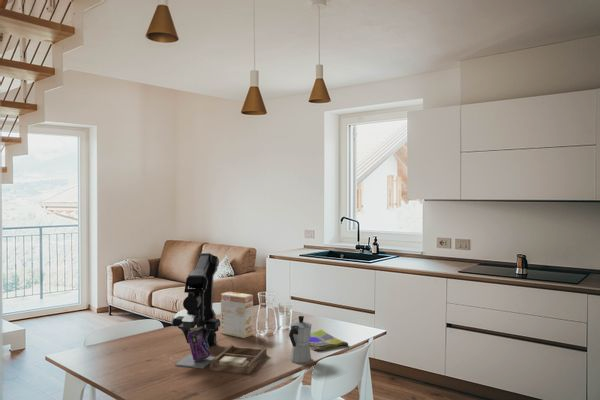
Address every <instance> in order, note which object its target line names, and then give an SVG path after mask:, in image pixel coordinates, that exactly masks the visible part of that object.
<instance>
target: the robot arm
mask: <svg viewBox="0 0 600 400" xmlns="http://www.w3.org/2000/svg"><path fill="white" fill-rule="evenodd" d="M219 266H220V260H219V257H218V256H216V255H213V254H212V253H209V252H201V253H199V256H198V261H197V263H196V266H195V269H194V270H192V271H190V272H189V274H188V275H187V277H186V281H185V286H184V291H183V292H184V294H186V293H187V297H185V298H184V300H183V302H182V306H183V308H184V310H186V314H185V315H184V316H182V315H179V316H176V317H174V318H173V319H172V321H171V325H172V327H177V328H178V329H180V330H181V331H182V333H183V335H184V338H185V340H186V343H187V344H189V341H188V331H189V330H191V329H194V328H197V327H203V329H202V331H203V337H204V340H206V339H207V341H208V345H209V348H211V347H213V346H214V345H215V344H217V343H218V341H217V332H218V331H219V327H221V319H220V318H217V317H216V315H217V314H216V312H215V311H214V309H213V299H214V295H213V294H214V277H215V274H216V273H217V272H218V267H219Z"/></svg>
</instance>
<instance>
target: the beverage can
mask: <svg viewBox="0 0 600 400" xmlns="http://www.w3.org/2000/svg"><path fill="white" fill-rule="evenodd" d="M202 329H203V327H197V326H196V327H194V328H192V329H191V330H189V331H188V341H189V343H188V344H189V345H188V346H189V348H190V351H191V354H192V356H193V360H196V361H201V360H204V359H206V358H208V357H209V356H211V354H212V353H211V350H210V346H209V345H208V341H207V339H206V340H204V337H203V331H202Z"/></svg>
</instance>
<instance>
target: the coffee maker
mask: <svg viewBox="0 0 600 400" xmlns="http://www.w3.org/2000/svg"><path fill="white" fill-rule="evenodd" d="M304 318H305V317H304V315H299V316H298V322H293V323H291V325H290V330H289V334H288V337H289V340H290V342H291V344H292V346H291V347H292V348H291V354H290V361H291V363H293V364H294V363H295V364H308V363H310V362H312V356H311V349H310V347H309V343H308V342H309V340H310V333H312V332H311V331H312V330H311V329H312V324H311V323H309V322H307V321H306V322H305V321H304Z"/></svg>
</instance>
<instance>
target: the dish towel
mask: <svg viewBox="0 0 600 400" xmlns="http://www.w3.org/2000/svg"><path fill="white" fill-rule="evenodd" d="M308 343H309V347H310V350H312V351H317V352H318V351H324V350H332V349H340V348H346V347H349V343H348V342H347V341H344V340H341V339H338V338H337V337H334V336H333V335H331V334H329V333H328V332H326V331H325V330H323V329H318V330H316V331H314V332H313V331H312V332H310V340H309V342H308Z"/></svg>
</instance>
